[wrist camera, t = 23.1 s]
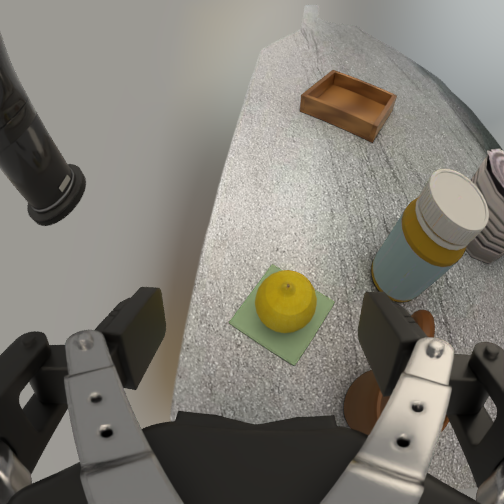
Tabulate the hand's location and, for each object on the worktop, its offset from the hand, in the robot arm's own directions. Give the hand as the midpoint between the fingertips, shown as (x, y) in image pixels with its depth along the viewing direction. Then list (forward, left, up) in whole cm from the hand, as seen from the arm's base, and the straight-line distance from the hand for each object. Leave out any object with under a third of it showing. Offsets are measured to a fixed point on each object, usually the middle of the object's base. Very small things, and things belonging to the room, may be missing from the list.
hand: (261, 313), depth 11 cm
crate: (-10, +44, -19) cm, 49 cm away
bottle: (+8, +17, -19) cm, 27 cm away
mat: (-1, +6, -19) cm, 20 cm away
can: (+18, +32, -19) cm, 41 cm away
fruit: (-1, +6, -19) cm, 20 cm away
